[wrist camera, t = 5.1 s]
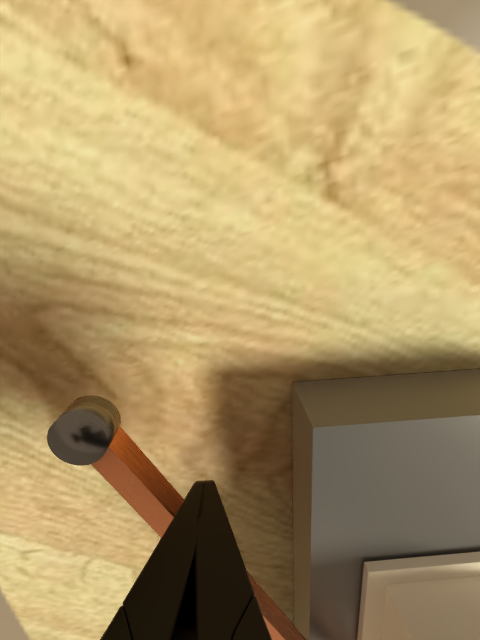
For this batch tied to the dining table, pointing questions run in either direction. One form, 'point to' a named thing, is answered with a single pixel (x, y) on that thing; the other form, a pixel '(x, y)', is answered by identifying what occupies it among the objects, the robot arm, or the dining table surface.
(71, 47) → the dining table surface
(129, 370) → the dining table surface
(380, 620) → the plug
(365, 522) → the grey socket base
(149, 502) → the copper link
